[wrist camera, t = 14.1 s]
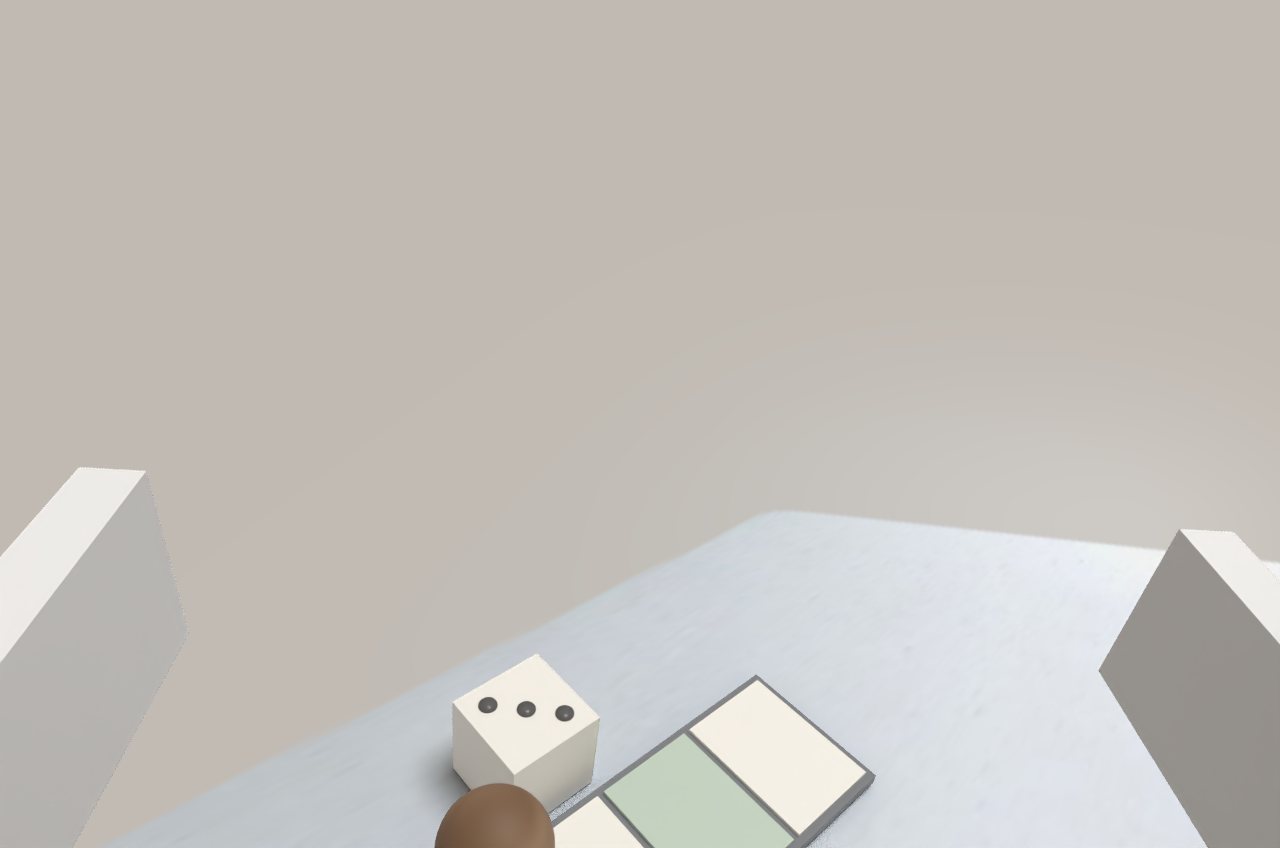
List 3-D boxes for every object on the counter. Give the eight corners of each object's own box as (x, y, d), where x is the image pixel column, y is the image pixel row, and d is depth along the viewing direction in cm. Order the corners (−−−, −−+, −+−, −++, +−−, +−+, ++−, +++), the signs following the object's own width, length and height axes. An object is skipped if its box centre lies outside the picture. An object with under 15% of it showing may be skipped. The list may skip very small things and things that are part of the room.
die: (592, 781, 44) (601, 715, 41) (510, 840, 40) (514, 773, 38) (533, 716, 46) (537, 651, 44) (452, 767, 43) (452, 700, 41)
